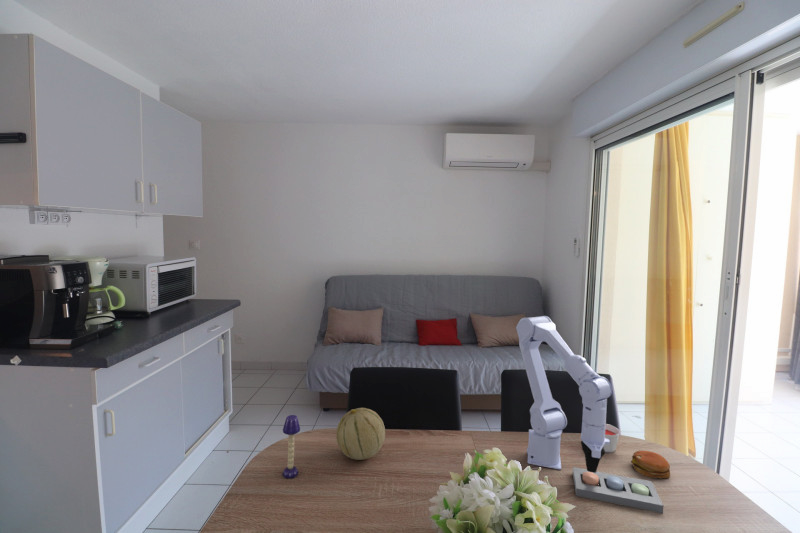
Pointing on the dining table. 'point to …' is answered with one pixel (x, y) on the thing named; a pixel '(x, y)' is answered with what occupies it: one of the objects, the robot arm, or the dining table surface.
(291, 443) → the toy lamp
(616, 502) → the button panel
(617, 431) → the candle
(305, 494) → the dining table surface
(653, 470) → the burger
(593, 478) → the terracotta button
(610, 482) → the blue button
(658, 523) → the dining table surface
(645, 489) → the green button
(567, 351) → the robot arm
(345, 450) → the cantaloupe
